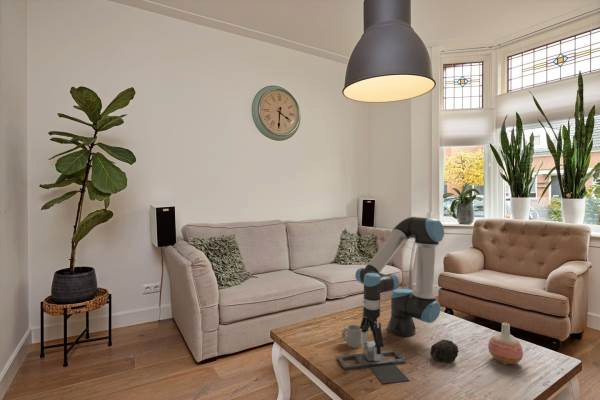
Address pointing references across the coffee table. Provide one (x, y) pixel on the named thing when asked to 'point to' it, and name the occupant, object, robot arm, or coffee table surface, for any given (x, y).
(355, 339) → the cup
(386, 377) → the rubber mat
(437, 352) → the rock
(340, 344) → the coffee table surface
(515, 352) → the vase
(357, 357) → the rail
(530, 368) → the coffee table surface
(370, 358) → the grey rectangular block
